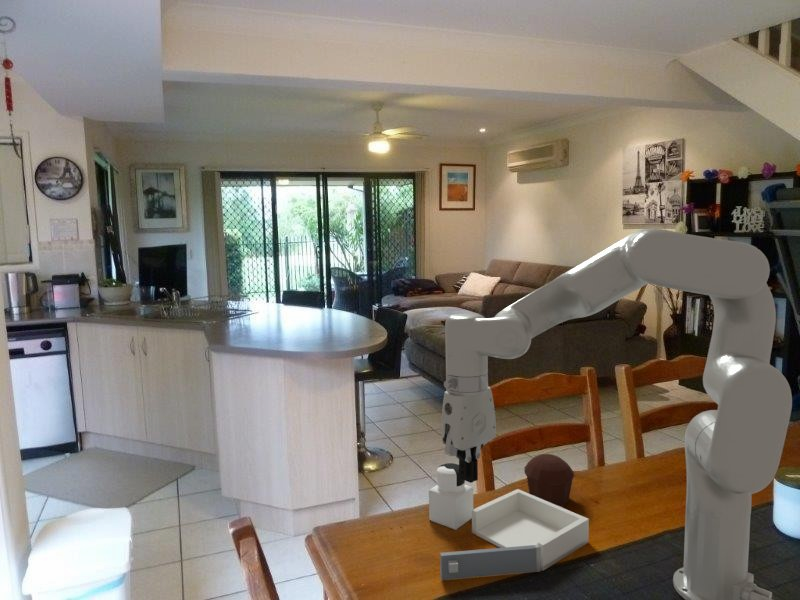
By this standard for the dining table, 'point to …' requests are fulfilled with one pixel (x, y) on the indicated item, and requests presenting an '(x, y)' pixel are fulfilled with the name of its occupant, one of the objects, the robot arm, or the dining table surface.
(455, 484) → the medicine bottle
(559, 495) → the muffin
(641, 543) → the dining table surface
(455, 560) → the side door
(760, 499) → the dining table surface
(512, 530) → the case
